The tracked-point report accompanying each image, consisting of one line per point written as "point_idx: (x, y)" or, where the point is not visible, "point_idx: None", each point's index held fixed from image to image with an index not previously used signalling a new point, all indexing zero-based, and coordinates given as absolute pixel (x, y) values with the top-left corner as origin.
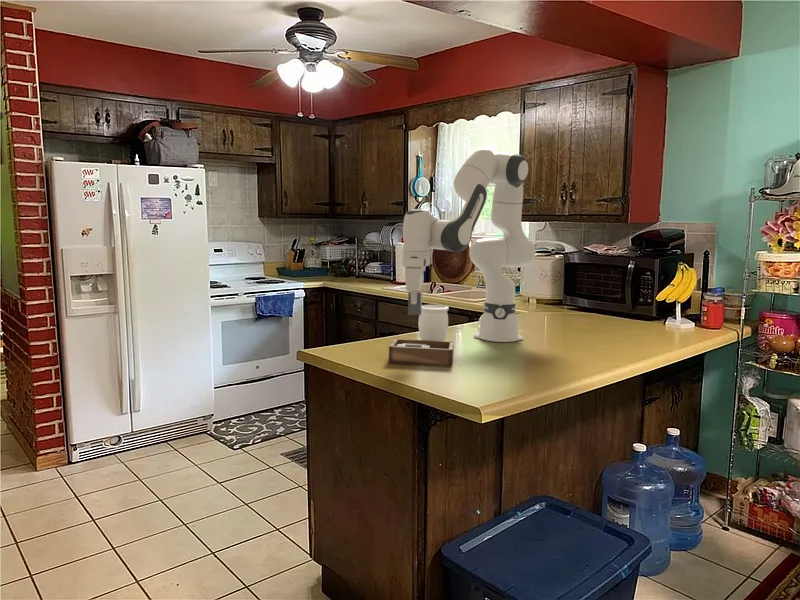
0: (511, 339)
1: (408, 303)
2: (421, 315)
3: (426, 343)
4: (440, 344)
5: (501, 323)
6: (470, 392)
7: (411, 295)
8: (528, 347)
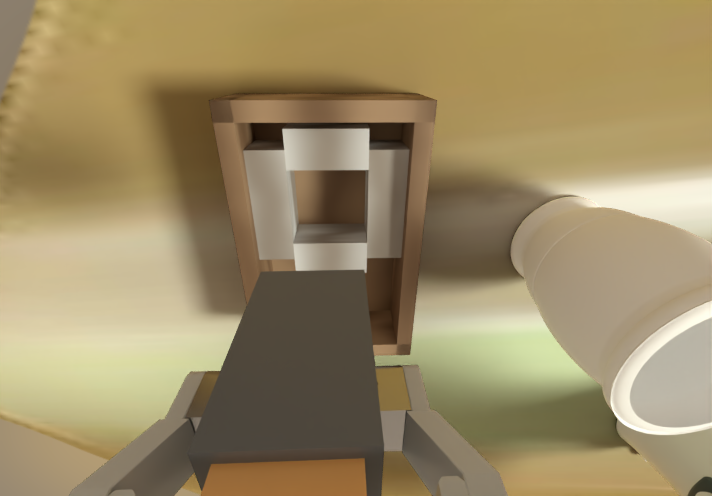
0: (626, 441)
1: (235, 338)
2: (651, 275)
3: (401, 257)
4: (398, 306)
5: (676, 474)
6: (25, 366)
7: (111, 467)
8: (549, 461)
